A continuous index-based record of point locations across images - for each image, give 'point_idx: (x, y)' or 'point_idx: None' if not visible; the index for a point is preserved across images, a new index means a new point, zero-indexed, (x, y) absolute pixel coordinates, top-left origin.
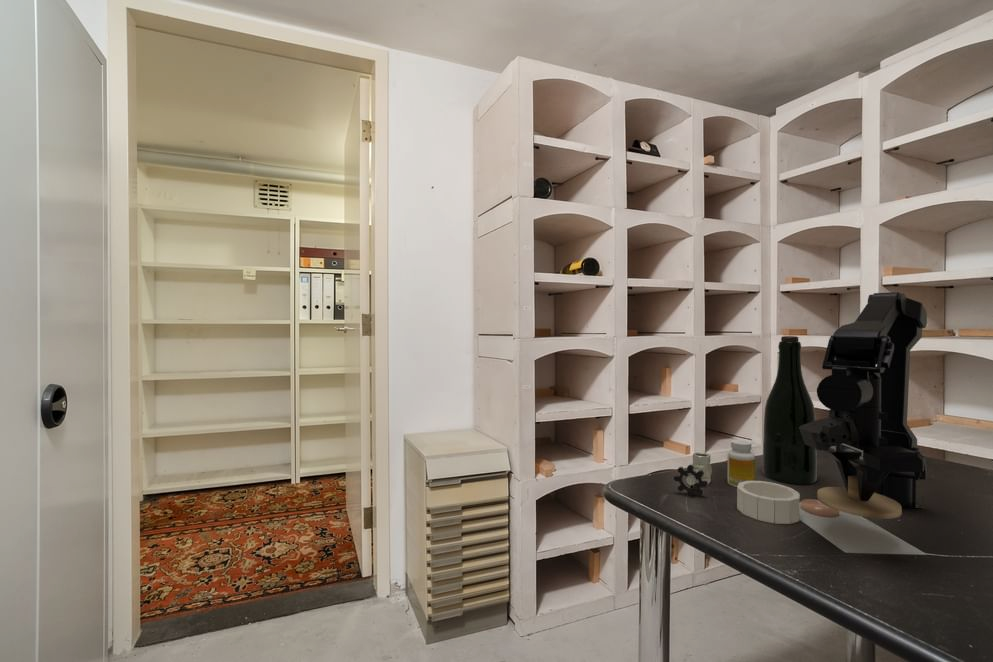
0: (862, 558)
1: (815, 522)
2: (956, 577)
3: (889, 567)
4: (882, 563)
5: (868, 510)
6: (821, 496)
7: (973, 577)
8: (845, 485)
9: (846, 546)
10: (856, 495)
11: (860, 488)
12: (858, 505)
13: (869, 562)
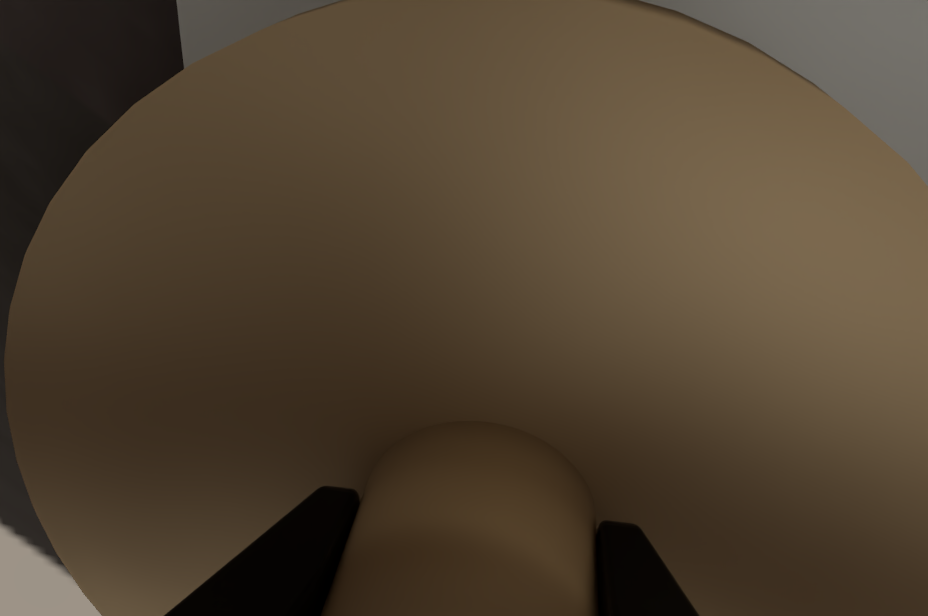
0: (141, 20)
1: (842, 84)
2: (4, 433)
3: (31, 128)
4: (86, 125)
5: (40, 335)
6: (598, 10)
7: (31, 512)
8: (663, 597)
9: (292, 7)
10: (377, 500)
11: (220, 604)
12: (208, 340)
13: (79, 27)
